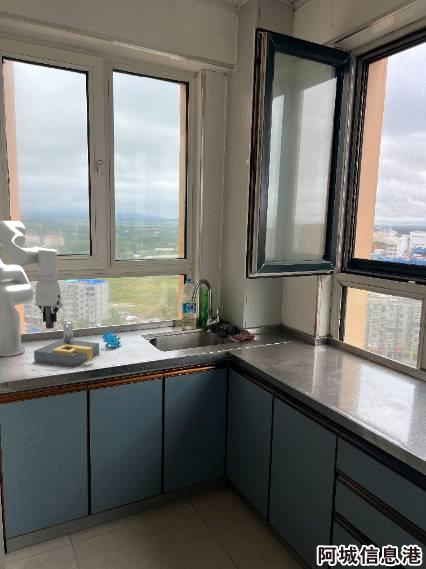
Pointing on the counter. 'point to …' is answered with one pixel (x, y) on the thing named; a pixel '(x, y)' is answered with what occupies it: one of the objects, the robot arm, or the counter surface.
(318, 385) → the counter surface
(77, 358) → the grey fixture base
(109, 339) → the gear
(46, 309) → the wedge pin
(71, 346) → the bracket
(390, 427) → the counter surface
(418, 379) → the counter surface
